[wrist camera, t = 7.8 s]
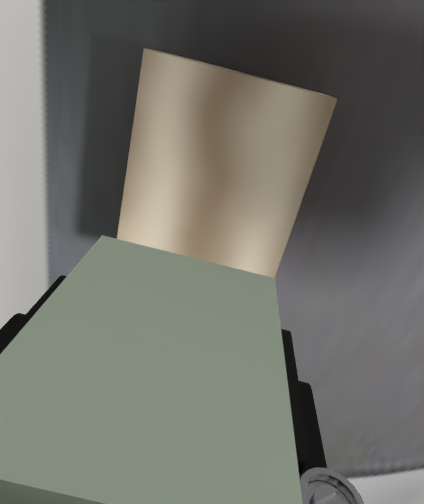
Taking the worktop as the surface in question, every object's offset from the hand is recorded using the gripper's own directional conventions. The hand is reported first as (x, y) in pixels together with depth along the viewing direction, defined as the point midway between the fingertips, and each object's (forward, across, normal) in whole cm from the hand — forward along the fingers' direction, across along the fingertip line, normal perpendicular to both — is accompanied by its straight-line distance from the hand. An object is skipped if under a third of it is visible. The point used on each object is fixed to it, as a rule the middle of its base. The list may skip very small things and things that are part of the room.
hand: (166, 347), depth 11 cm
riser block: (+19, 0, 0) cm, 19 cm away
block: (+1, 0, 0) cm, 1 cm away
